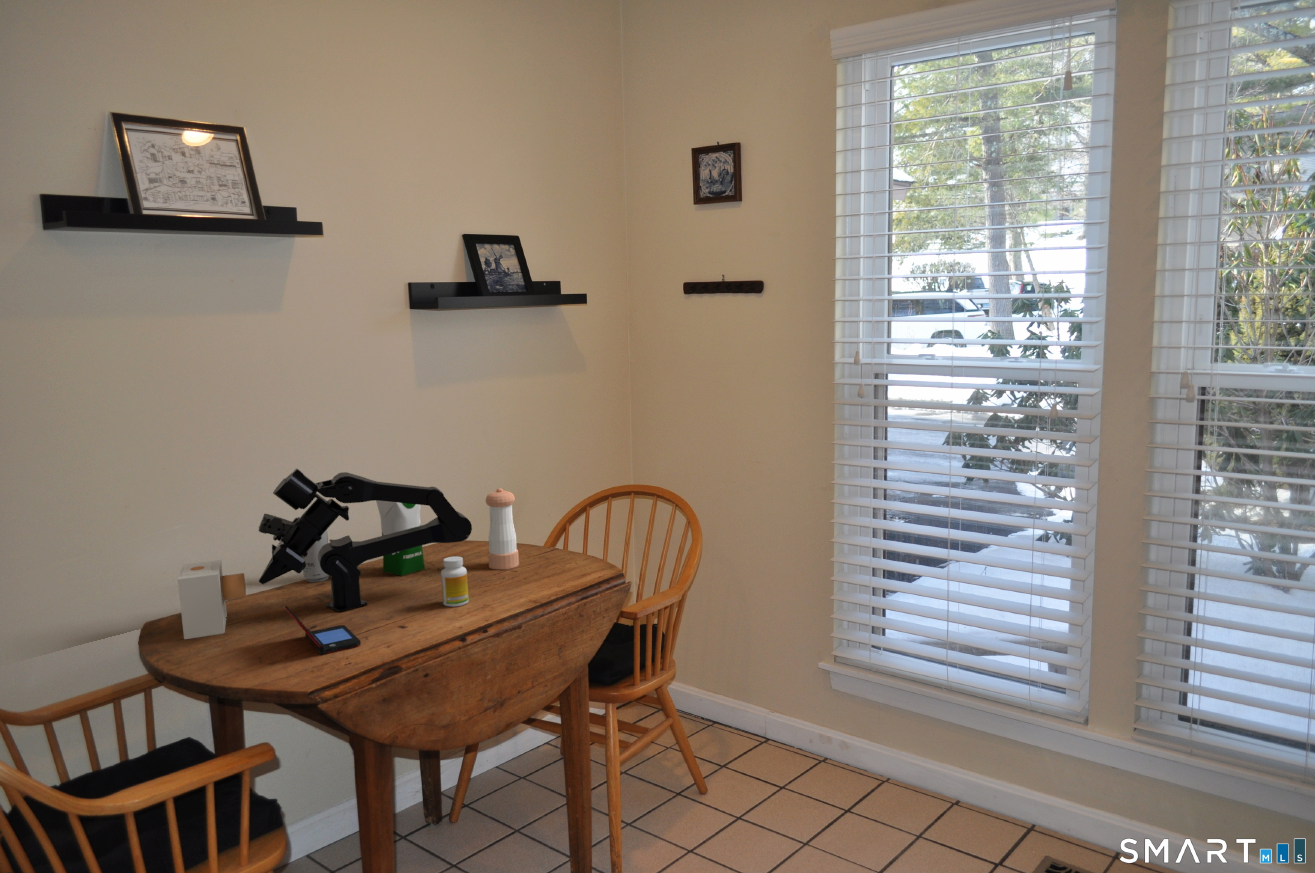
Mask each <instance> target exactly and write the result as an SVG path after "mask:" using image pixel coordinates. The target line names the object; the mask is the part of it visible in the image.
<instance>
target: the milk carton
mask: <svg viewBox="0 0 1315 873" xmlns="http://www.w3.org/2000/svg"><path fill="white" fill-rule="evenodd" d="M375 502H376V506H377V509H378V512H379V518H380V526H381V527H380V529H381V536H383V535H387V534H391V533H395V532H399V531H402V530H406V529H410V528H414V527H418V526H421V525H422V523H421V522H422V521H421V507H422V505H418V504H408V503H398V502H388V501H378V500H375ZM423 550H424V549H423V545H422V546H418V547H414V548H411V549H407V550H403V551H400V552H396V553H392V554H389V555H385V556H382V572H383V573H385V574H391V575H394V576H395V575H396V576H400V577H402V576H407V575H410V574H412V573H416V572H419V571H423V570H425V568H426V565H425V557H424V551H423Z"/></svg>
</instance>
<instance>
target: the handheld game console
mask: <svg viewBox="0 0 1315 873" xmlns="http://www.w3.org/2000/svg"><path fill="white" fill-rule="evenodd" d="M284 608H285V610H286V611H287V613H288V614H289V615H290V616H291V617H292V619H293V620H294V621H295V622H296V623H297V624H298V625H299V627H300V628H301V629H302V630H303V632H304V633H305V638H306V639H307V638H308V639H307V640H308V641H309V642H310V644H312V643H313V645H314V647H315V650H316V651H317V652H318V653H319V655H321V656H324V655H327V653H328V654H331V653H335V652H340V651H345V649H346V650H349V649H354V648H358V647H360V646H361V642H362V641H361V640H360V639H359V637H357V636H356V635H355V634H354V633H353V632H352V631H351V630H350V629H349V628H348V627H347V626H346V625H343V624H341V625H340V624H339V625H334V626H331V627H326V628H321V629H316V630H315V629H314V630H310V628H307V627H306V626H305V625H304V623H303V622H302V621H301V620H300V619H299V617H297V615H295V613H294V612H293V611H292V610H291V609H290V608H289V606H288V605H285V606H284Z"/></svg>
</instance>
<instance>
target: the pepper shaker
mask: <svg viewBox="0 0 1315 873" xmlns="http://www.w3.org/2000/svg"><path fill="white" fill-rule="evenodd" d="M515 500H516V498H515V495H514V494H513V493H512V492H510V491H508V490H504V489H503V488H501V487H498V488H497V489H496V490H495V491H492V492H489V493H488V494H487V495H486V497H485V504H486V505H487V507H488V506H489V508H488V509H489V510H488V511H489V533H488V547H489V551H488V553H487V554H488V555H487V556H488V568H490V569H492V570H509V569H514V568H517V567H518V566H520V558H519V557H520V556H519V550H518V548H517V533H516V530H515V526H514V517H513V516H514V515H513V505H514V503H515Z"/></svg>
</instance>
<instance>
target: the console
mask: <svg viewBox="0 0 1315 873" xmlns="http://www.w3.org/2000/svg"><path fill="white" fill-rule="evenodd" d="M223 572H224V571H223V565H222V560H221V559H214V560H209V561H208V560H207V561H201V562H193V563H191V562H190V563H185V564H182V567H181V570H180V572H179V575H178V577H177V586H178V596H179V601H180V602H179V603H180V612H181V622H182V632H183V640H188V639H189V640H190V639H195V638H196V639H198V638H202V637H209V636H215V635H222V634H225V631H226V626H227V618H226V617H228V615H227V605H226V604H227V602H226V601H224V599H223V592H222V576H224V575H223V574H224V573H223Z"/></svg>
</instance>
